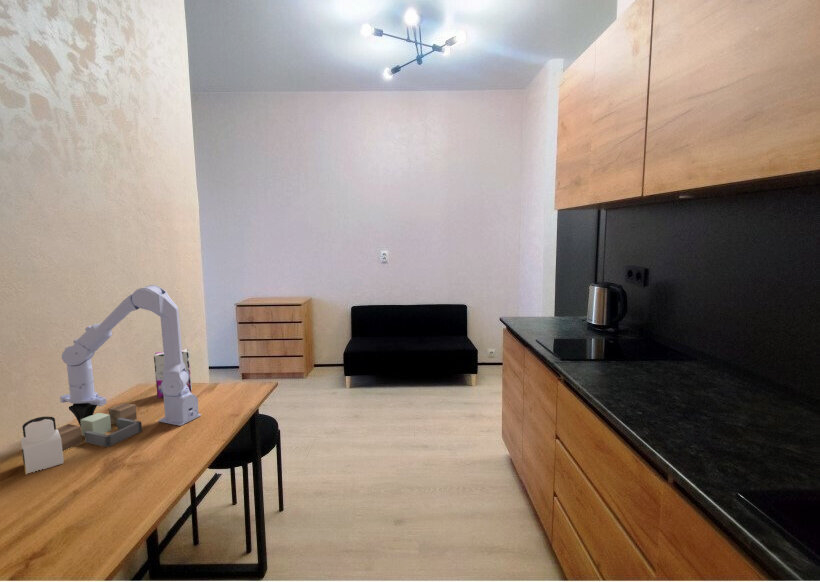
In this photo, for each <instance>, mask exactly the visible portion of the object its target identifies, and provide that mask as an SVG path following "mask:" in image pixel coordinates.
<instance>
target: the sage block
mask: <svg viewBox="0 0 820 582" xmlns="http://www.w3.org/2000/svg"><path fill="white" fill-rule="evenodd" d="M80 422H81V426H80V427H81V435H82V437H85V433H84V432H86V431H92V432H97V433H101V434H107V433H109V432H111V431H112V424H111V421H110V415H109V413H102V412H96V413H93V415H91V416H88V417H86V418H83V419H81V420H80Z"/></svg>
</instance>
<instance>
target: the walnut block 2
mask: <svg viewBox="0 0 820 582" xmlns="http://www.w3.org/2000/svg"><path fill="white" fill-rule="evenodd" d="M136 405H137V404H134V403H128V402H123V403H121V404H117V405H114V406H113V407H109V408H108V415H110V421H111V425H115V426H117V419H118V418H125V419H130V420H135V421H137V420H138V417H137V406H136Z"/></svg>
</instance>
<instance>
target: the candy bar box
mask: <svg viewBox="0 0 820 582" xmlns="http://www.w3.org/2000/svg"><path fill="white" fill-rule="evenodd" d="M182 358H183V362H184V364H185V368H186V370H187V372H188V373H189V381H188V382H187V383H186V385H187V386H188V388H189V391H190V392H191V393H192V390H193V386H192V375H191V374H192V373H191V362H190V361H191V360H190V349H189V348H185V349H183V348H182ZM153 363H154V372H155V373H154V374H155V382H156V384H155V385H156V386H155V387H156V397H157V399H158V398H159V399H160V398H164V397H163V392H162V390H161V383H162V381H163V373H164V367H165V363H164V351H159V352H155V353H154V355H153Z"/></svg>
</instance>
